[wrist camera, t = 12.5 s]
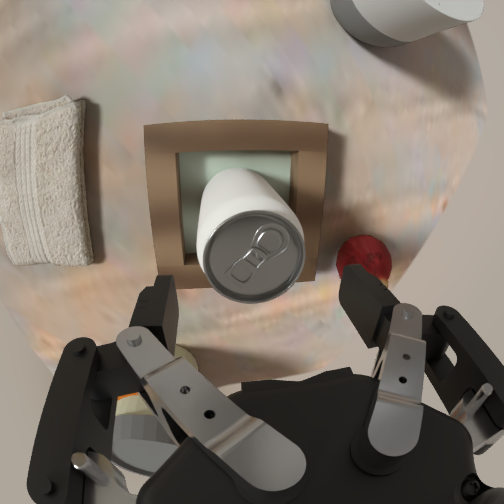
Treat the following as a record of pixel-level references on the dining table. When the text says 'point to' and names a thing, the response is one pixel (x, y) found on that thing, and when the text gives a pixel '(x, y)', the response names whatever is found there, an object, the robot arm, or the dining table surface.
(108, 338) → the dining table surface
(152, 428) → the reusable coffee cup
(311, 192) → the holder
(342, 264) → the onion
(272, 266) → the can
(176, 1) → the dining table surface
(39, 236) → the washcloth
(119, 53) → the dining table surface
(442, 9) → the smart speaker
